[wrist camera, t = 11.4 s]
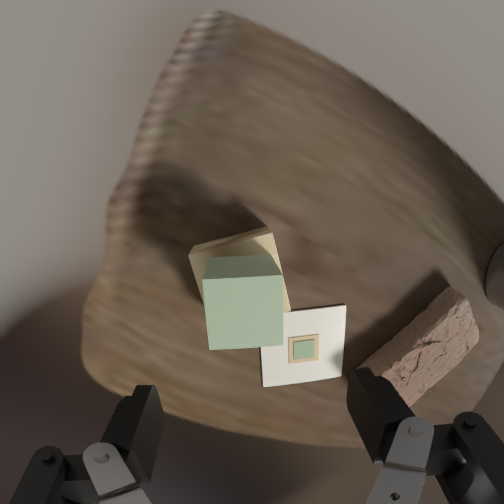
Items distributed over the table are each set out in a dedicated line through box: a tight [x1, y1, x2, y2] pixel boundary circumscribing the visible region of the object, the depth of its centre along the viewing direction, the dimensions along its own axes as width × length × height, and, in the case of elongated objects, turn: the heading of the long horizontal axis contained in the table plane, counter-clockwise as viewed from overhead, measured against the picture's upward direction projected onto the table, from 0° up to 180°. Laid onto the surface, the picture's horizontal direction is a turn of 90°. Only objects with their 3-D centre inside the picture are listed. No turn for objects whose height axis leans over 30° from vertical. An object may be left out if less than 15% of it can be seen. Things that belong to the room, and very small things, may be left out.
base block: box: [188, 226, 291, 313], centre depth 28 cm, size 7×7×4 cm
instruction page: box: [261, 305, 346, 387], centre depth 31 cm, size 9×9×1 cm
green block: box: [202, 254, 283, 350], centre depth 23 cm, size 5×5×6 cm
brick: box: [356, 287, 479, 407], centre depth 31 cm, size 17×8×5 cm, turn 129°
